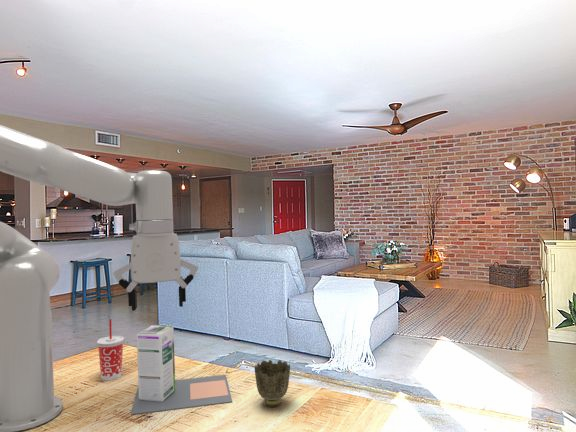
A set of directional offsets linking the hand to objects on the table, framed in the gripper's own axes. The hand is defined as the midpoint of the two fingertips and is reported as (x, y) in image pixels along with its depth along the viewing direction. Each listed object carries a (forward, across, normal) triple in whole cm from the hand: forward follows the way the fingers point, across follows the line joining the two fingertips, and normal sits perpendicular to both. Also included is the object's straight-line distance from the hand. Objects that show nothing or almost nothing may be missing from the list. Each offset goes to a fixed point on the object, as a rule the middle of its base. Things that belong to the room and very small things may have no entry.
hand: (158, 307), depth 88 cm
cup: (+20, +23, -10) cm, 32 cm away
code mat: (+20, +5, 0) cm, 20 cm away
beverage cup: (+19, -12, +14) cm, 27 cm away
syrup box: (+19, -1, 0) cm, 19 cm away
